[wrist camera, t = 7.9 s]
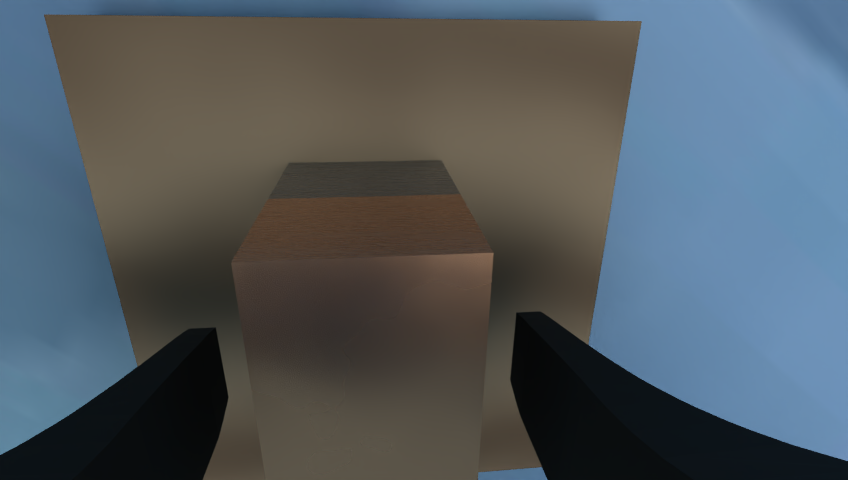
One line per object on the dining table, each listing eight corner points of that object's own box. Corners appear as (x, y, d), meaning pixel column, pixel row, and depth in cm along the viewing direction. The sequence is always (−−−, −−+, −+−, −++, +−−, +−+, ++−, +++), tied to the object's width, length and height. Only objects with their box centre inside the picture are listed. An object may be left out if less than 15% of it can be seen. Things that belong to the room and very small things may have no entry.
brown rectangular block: (436, 397, 16) (470, 582, 11) (313, 405, 16) (285, 601, 11) (441, 160, 13) (493, 252, 8) (289, 162, 13) (231, 262, 7)
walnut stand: (545, 416, 21) (568, 464, 18) (195, 441, 19) (172, 497, 17) (598, 22, 15) (641, 21, 12) (99, 16, 13) (43, 14, 11)
